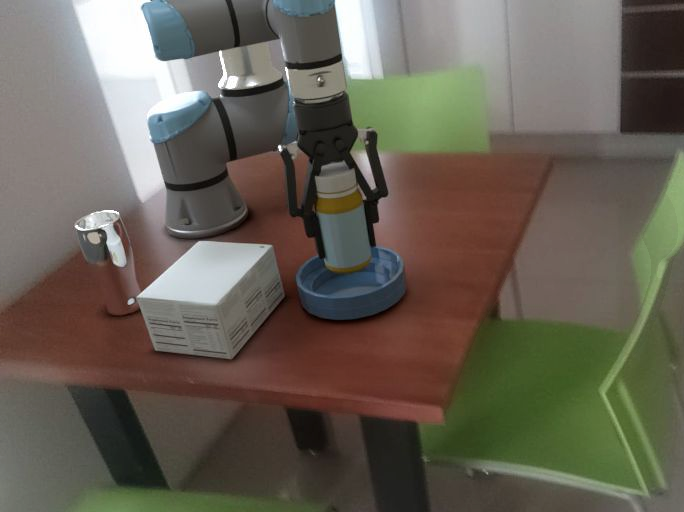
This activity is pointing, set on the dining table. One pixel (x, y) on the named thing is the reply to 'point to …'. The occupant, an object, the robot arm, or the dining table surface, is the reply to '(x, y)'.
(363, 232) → the bottle
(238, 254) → the supplement box
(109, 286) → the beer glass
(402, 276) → the bowl
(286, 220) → the dining table surface
